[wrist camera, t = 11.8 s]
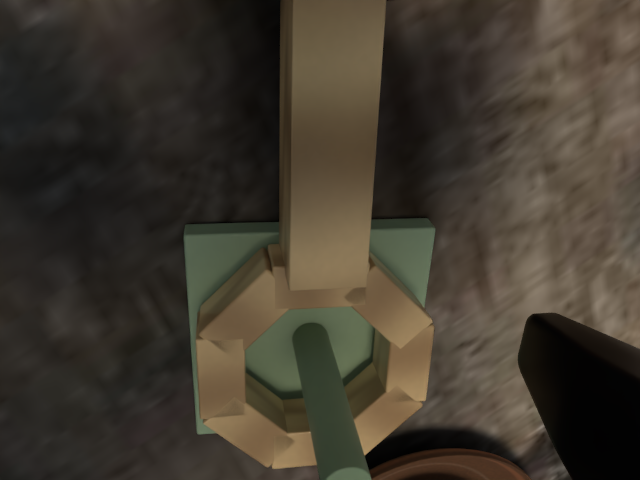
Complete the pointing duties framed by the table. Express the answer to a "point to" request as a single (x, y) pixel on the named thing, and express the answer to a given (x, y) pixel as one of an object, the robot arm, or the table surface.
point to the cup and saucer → (448, 466)
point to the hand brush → (317, 247)
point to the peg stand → (307, 330)
